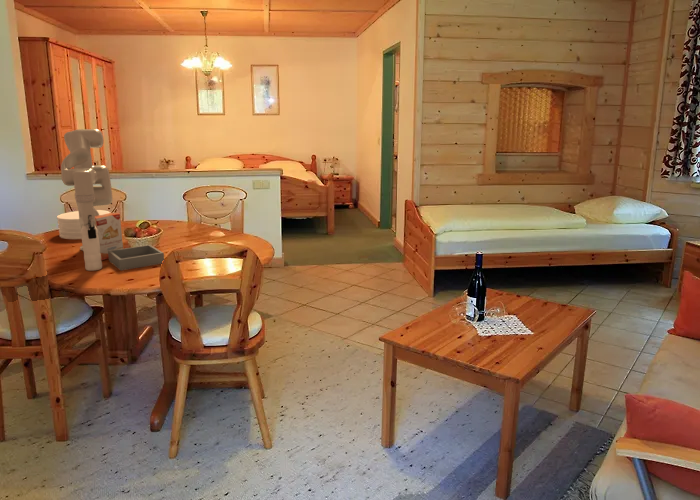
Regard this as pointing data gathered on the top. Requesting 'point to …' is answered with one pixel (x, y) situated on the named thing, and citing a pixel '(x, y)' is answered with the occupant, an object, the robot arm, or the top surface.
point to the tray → (135, 257)
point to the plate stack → (72, 224)
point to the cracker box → (109, 233)
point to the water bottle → (91, 250)
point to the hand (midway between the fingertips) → (90, 236)
